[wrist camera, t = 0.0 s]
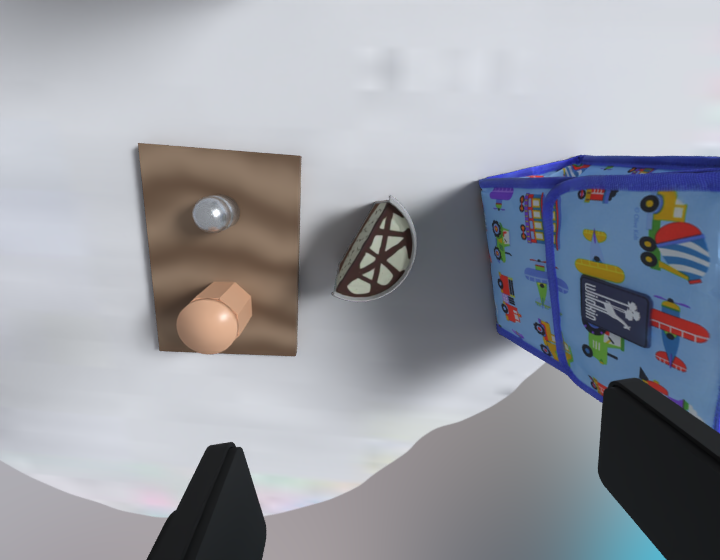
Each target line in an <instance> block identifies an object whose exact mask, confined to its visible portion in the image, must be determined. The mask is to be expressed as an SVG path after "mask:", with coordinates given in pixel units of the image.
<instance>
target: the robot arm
mask: <svg viewBox="0 0 720 560" xmlns="http://www.w3.org/2000/svg"><path fill="white" fill-rule="evenodd" d="M598 474H599V477H600V479H601V481H602V483H603V485H604V486H605V487H606V488H607V490H608V491H609V492H610V493H611V494H612V496H613V497H614V498H615V499H616V500H617V501H618V503H619V504H620V505H621V506H622V507H623V509H624V510H625V511H626V512H627V513H628V514H629V516H631V518H632V519H633V520H634V522H635V523H636V524H637V525H638V526H639V527H640V529H641V530H642V531H643V532H644V533H645V535H646V536H647V537H648V538H649V539H650V541H652V543H653V544H654V545H655V546H656V548H657V549H658V550H659V551H660V552H661V554H662V555H663V556H664V557H665V558H666V559H667V560H720V433H719V432H717V431H716V430H714V429H713V428H711V427H710V426H708V425H707V424H705V423H704V422H702V421H701V420H700V419H698V418H697V417H695V416H694V415H692V414H691V413H689V412H688V411H686V410H685V409H683V408H682V407H681V406H679V405H678V404H676V403H675V402H673V401H672V400H670V399H669V398H667V397H666V396H664V395H663V394H662V393H660V392H659V391H657V390H656V389H654V388H653V387H651V386H650V385H648V384H647V383H645V382H644V381H643V380H641V379H639V378H628V379H622V380H616V381H612V382H610V383H609V385H608V388H606V389H605V390H604V392H603V405H602V418H601V432H600V447H599V460H598ZM265 542H266V524H265V520H264V517H263V514H262V510H261V507H260V504H259V501H258V497H257V494H256V491H255V488H254V484H253V481H252V478H251V475H250V471H249V468H248V465H247V462H246V458H245V455H244V452H243V449H242V448H241V447H236V446H235V444H234V443H233V442H228V443H222V444H216V445H210V446H209V447H207V449H206V451H205V453H204V455H203V457H202V459H201V461H200V463H199V465H198V467H197V469H196V471H195V473H194V475H193V477H192V479H191V481H190V483H189V485H188V487H187V489H186V491H185V493H184V495H183V497H182V499H181V501H180V503H179V505H178V507H177V510H175V511H174V512H173V513H172V514H170V516H169V517H168V519H167V520H166V522H165V524H164V526H163V528H162V530H161V532H160V534H159V536H158V538H157V540H156V542H155V544H154V546H153V548H152V550H151V552H150V554H149V556H148V558H147V560H262V557H263V552H264V547H265Z"/></svg>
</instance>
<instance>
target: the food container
mask: <svg viewBox="0 0 720 560" xmlns="http://www.w3.org/2000/svg"><path fill="white" fill-rule="evenodd" d="M416 248H417V239H416V231H415V228H414V224H413V221H412V219H411V217H410V215H409V213H408V212H407V211H406V209H405V208H404V206H403V205H402V204H401V203H400V202H399V201H398V200H397V199H395V198H394V197H393V196H391V195H390V196H389V200H385V201H377V202H375V203H374V205H373V206H372V208H371V210H370V211H369V213H368V215H367V217H366V218H365V220H364V222H363V223H362V225H361V227H360V229H359V230H358V232H357V234H356V235H355V237H354V239H353V241H352V242H351V244H350V246H349V247H348V249H347V251H346V252H345V254H344V256H343V258H342V259H341V261H340V263H339V265H338V271H337V277H336V282H335V288H334V293H333V292H332V296H335V297H337V298H339V299H343V300H347V301H353V302H366V301H371V300H375V299H378V298H381V297H383V296H385V295H387V294H389V293H391V292H392V291H393V290H395V289H396V288H397V287H398V286H399V285H400V284H401V283H402V282H403V281H404V280H405V278H406V277H407V276H408V274H409V272H410V270H411V269H412V266H413V263H414V261H415V256H416Z"/></svg>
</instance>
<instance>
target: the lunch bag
mask: <svg viewBox="0 0 720 560" xmlns="http://www.w3.org/2000/svg"><path fill="white" fill-rule="evenodd" d="M479 185H480V188H481V189H482V192H481V194H482V202H483V209H484V217H485V225H486V233H487V241H488V247H489V257H490V263H491V275H492V282H493V291H494V301H495V306H496V323H497V324H496V326H497V332H498V333H499V334H500V335H502V336H504V337H505V338H507V339H509V340H511V341H512V342H514V343H515V344H517V345H519V346H520V347H522V348H523V349H525V350H527V351H528V352H530V353H532V354H533V355H535V356H537V357H538V358H540V359H542V360H543V361H545V362H547V363H548V364H550V365H552V366H553V367H555V368H557V369H558V370H560V371H562V372H563V373H565V374H566V375H568V376H569V377H570V379H571V380H572V381H573V382H574V383H575V384H576V385H578V386H579V387H580V388H581V389H583V390H584V391H585V392H587V393H588V394H590V395H591V396H593V397H594V398H596V399H597V400H599V401H600V402H602V403H603V392H604V390H605V389H606V388H608V385H609V383H610V382H612V381H616V380H622V379H628V378H639V379H641V380H643V381H644V382H645V383H647V384H648V385H650V386H651V387H653V388H654V389H656V390H657V391H659V392H660V393H662V394H663V395H664V396H666V397H667V398H669V399H670V400H672V401H673V402H675V403H676V404H678V405H679V406H681V407H682V408H683V409H685V410H686V411H688V412H689V413H691V414H692V415H694V416H695V417H697V418H698V419H700V420H701V421H702V422H704V423H705V424H707V425H708V426H710V427H711V428H713V429H714V430H716V431H717V432H719V433H720V157H716V156H714V157H712V156H708V157H705V156H591V155H579V156H576V157H572V158H570V159H567V160H563V161H557V162H553V163H548V164H544V165H540V166H534V167H530V168H526V169H522V170H518V171H514V172H510V173H506V174H500V175H495V176H491V177H487V178H485V179H480V180H479Z"/></svg>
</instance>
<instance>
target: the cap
mask: <svg viewBox="0 0 720 560" xmlns="http://www.w3.org/2000/svg"><path fill="white" fill-rule="evenodd" d="M251 317H252V303H251V296H250V295H249V294H248V293H247V292H246V291H245V290H244V289H242V288H241V287H240V286H239V285H238V284H237V283H236V282H213V283H212V284H210V285H209V286H208V287H207V288H206V289H205V290H203V291H202V292H201V293H200V294H199V295H197V296H196V297H195V298H194V299H193V300H192V301H191V302H190V303H189V304H188V305H187V306H186V307H185V308H184V309H183V310H182V311H181V312H180V313H179V316H178V318H177V324H176V326H177V332H178V335H179V337H180V339H181V340H182V342H183V343H184V344H185V345H186V346H187V347H189V348H190V349H192V350H194V351H196V352H198V353H202V354H217V353H220V352H222V351H224V350H226V349H227V348H228V347H229V346H230V345H231V344H232V343H233V341H234V340H235V339H236V338H237V337H238V336H240V334H241V332H242V331H243V329H244V328H245V326H246V325H247V323H248V321H249V320H250V318H251Z"/></svg>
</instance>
